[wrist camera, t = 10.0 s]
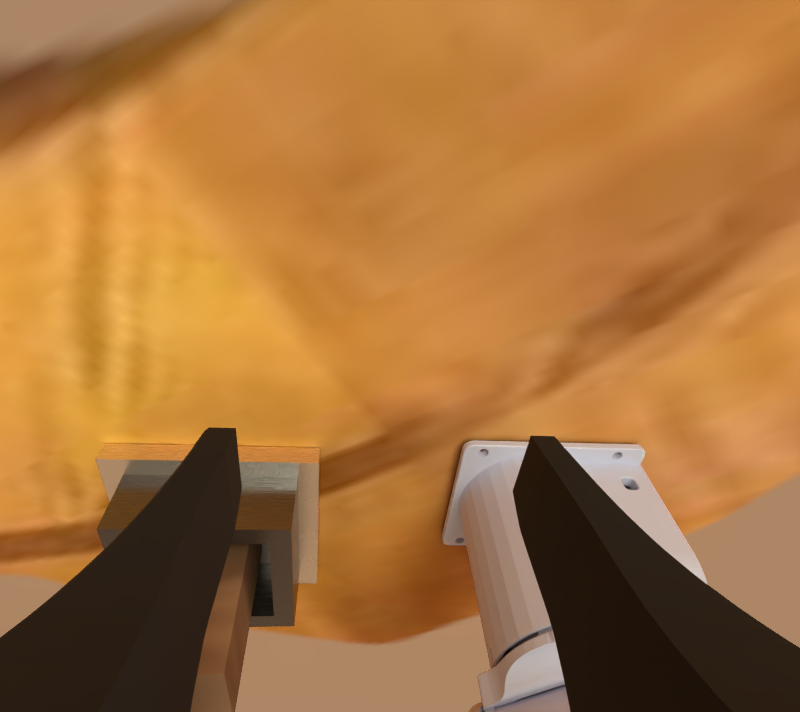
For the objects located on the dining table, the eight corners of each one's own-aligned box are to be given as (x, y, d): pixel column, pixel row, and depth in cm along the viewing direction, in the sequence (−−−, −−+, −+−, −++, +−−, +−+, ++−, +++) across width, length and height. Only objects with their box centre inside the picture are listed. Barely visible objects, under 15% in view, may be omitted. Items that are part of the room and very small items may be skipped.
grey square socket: (320, 448, 25) (314, 515, 22) (317, 567, 31) (313, 635, 28) (104, 443, 24) (64, 513, 21) (142, 568, 30) (116, 639, 27)
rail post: (257, 500, 26) (223, 673, 19) (262, 549, 28) (233, 719, 21) (173, 500, 25) (110, 677, 19) (185, 550, 28) (132, 723, 21)
